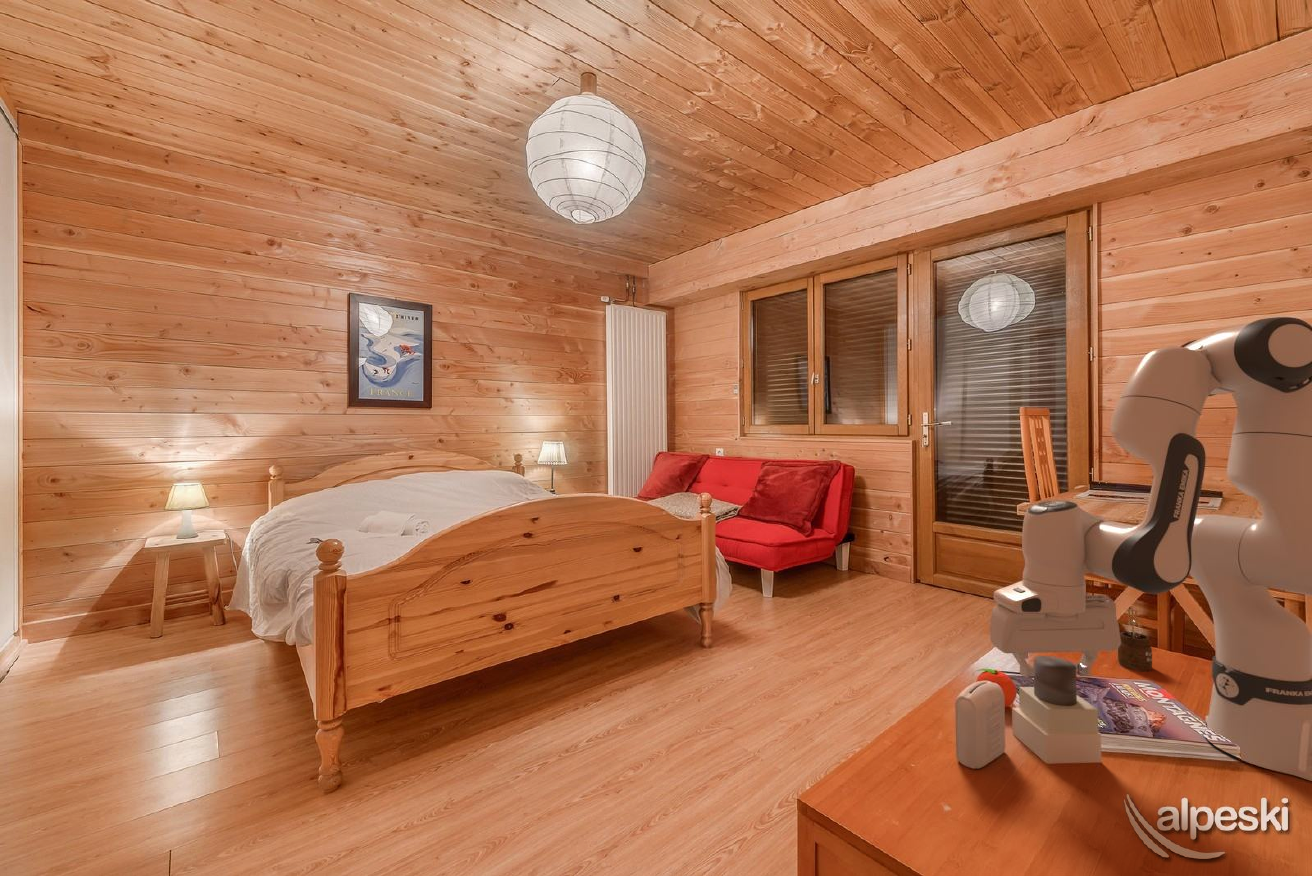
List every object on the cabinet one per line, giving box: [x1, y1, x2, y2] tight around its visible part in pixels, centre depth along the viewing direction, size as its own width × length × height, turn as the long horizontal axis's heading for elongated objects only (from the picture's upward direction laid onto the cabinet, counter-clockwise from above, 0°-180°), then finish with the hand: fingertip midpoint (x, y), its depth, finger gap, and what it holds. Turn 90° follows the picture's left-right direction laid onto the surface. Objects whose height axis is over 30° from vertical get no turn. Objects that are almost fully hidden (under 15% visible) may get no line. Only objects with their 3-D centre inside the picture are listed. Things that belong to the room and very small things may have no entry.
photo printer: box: [954, 681, 1006, 770], centre depth 95 cm, size 10×4×12 cm, turn 123°
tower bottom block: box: [1011, 707, 1102, 764], centre depth 97 cm, size 9×9×5 cm
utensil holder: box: [1117, 608, 1153, 672], centre depth 127 cm, size 6×6×12 cm
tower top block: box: [1018, 686, 1099, 733], centre depth 97 cm, size 8×8×4 cm
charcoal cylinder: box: [1033, 655, 1078, 706], centre depth 97 cm, size 6×6×6 cm
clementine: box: [972, 668, 1017, 708], centre depth 112 cm, size 8×7×7 cm
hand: (1055, 675), depth 97 cm, fingers open, 8 cm apart
